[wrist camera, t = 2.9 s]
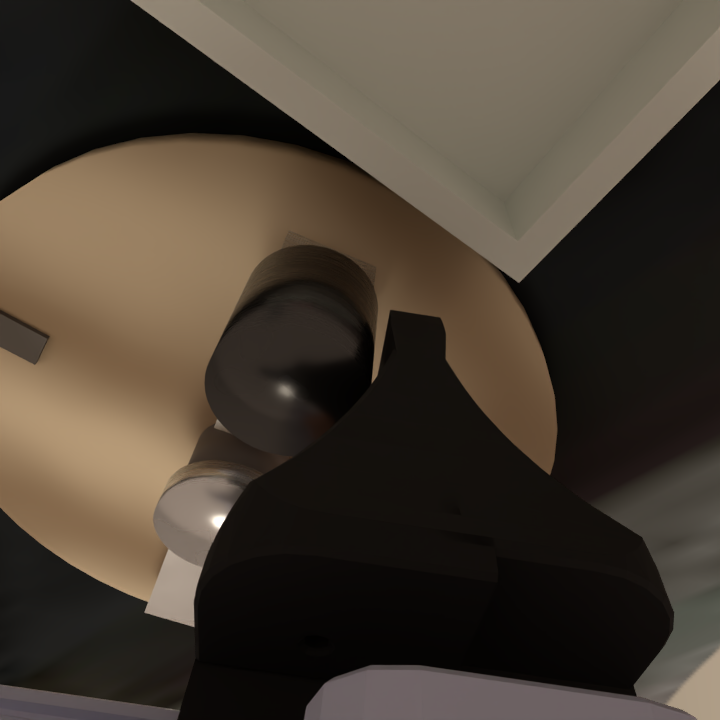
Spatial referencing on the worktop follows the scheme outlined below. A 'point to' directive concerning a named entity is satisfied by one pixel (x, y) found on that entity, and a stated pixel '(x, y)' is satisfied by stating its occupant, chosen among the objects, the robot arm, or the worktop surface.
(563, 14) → the tray
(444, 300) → the crank plate
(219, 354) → the dark grey cylinder
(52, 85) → the worktop surface
